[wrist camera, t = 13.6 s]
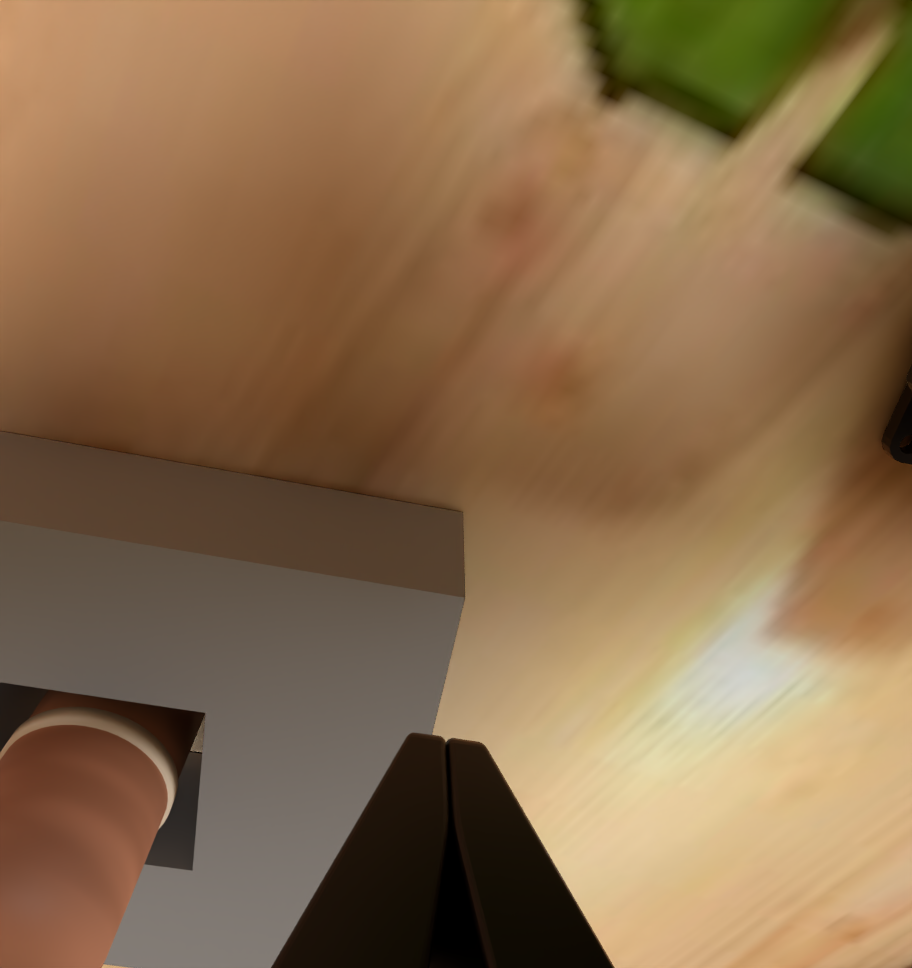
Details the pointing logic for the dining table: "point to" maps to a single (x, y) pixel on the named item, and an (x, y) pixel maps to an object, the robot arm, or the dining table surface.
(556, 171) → the dining table surface
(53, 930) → the peg
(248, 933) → the hole block
